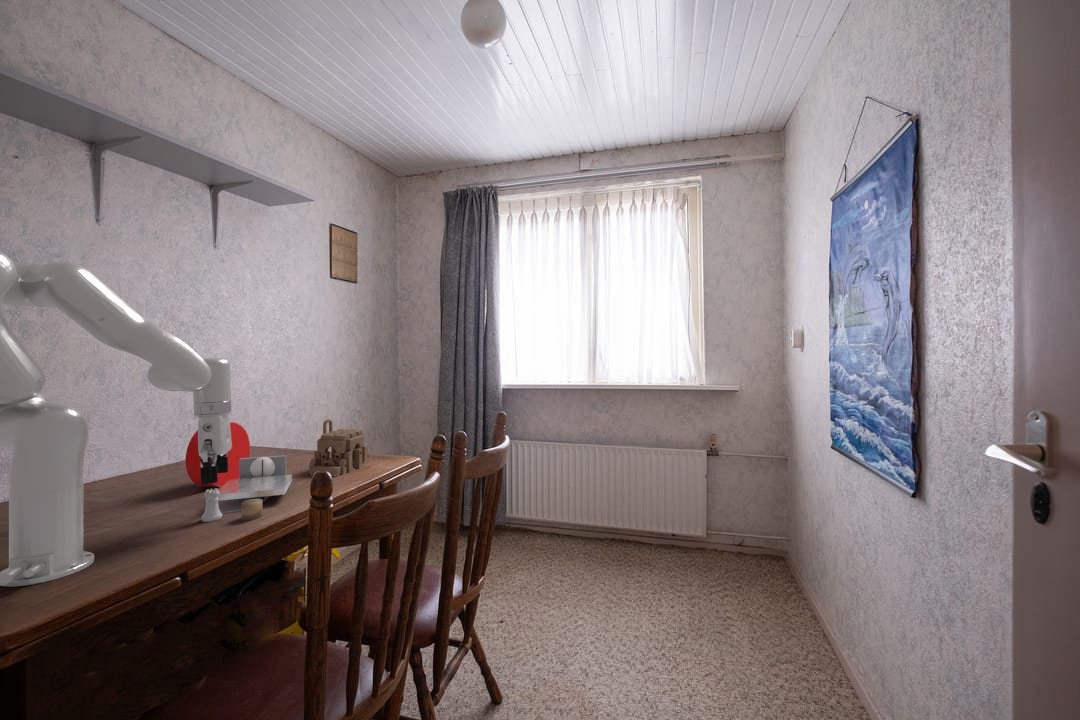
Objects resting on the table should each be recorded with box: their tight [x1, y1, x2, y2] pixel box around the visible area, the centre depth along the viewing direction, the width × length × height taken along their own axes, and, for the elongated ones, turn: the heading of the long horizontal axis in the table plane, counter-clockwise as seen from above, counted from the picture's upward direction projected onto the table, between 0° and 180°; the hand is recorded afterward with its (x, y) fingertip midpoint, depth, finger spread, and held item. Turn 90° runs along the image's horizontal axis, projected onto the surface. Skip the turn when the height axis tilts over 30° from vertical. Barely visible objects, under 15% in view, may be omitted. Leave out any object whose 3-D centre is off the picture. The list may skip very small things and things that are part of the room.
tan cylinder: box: [240, 499, 264, 522], centre depth 113 cm, size 4×4×5 cm
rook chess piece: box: [200, 487, 223, 523], centre depth 113 cm, size 4×4×8 cm
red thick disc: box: [185, 421, 251, 488], centre depth 145 cm, size 20×6×20 cm, turn 178°
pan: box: [218, 474, 293, 501], centre depth 128 cm, size 16×16×4 cm
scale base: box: [201, 455, 287, 517], centre depth 129 cm, size 21×20×11 cm
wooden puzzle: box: [308, 419, 370, 477], centre depth 163 cm, size 22×15×19 cm, turn 173°
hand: (215, 477), depth 113 cm, fingers open, 9 cm apart
